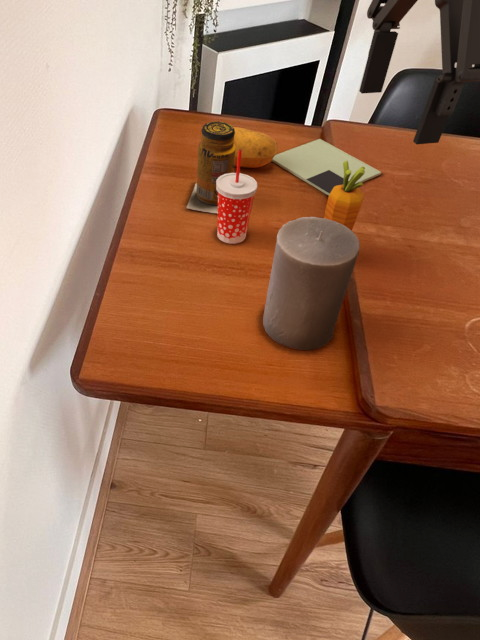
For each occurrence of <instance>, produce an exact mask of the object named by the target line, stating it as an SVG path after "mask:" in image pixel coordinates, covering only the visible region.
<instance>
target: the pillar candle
mask: <svg viewBox="0 0 480 640" xmlns="http://www.w3.org/2000/svg"><path fill="white" fill-rule="evenodd" d="M360 245H361V243H360V239H359V238H358V236H357V235H356V233H355V232H354V231H353V230H352V231H351V230H350V229H349V228H347V227H346V226H344V225H342V224H340V223H337V222H335V221H332V220H329V219H324V217H316V216H303V217H297V218H296V219H294V220H289V221H288V222H286V223H284V224H283V225H282V226H281V227H280V228H279V229H278V232H277V235H276V242H275V247H274V254H273V257H272V265H271V270H270V276H269V281H268V286H267V292H266V300H265V305H264V312H263V316H262V324H263V325H262V326H263V328H264V330H265V332H266V334H267V335H268V336H269V338H271V339H272V340H273V341H274V342H275V343H277V344H279V345H281V346H283V347H286V348H290V349H294V350H298V351H312V350H317V349H320V348H322V347H323V346H325V345H326V344H328V343H329V342H330V341H331V340H332V338H333V337H334V331H335V328H336V324H337V323H338V320H339V316H340V312H341V309H342V305H343V302H344V300H345V297H346V294H347V291H348V287H349V285H350V281H351V278H352V275H353V272H354V269H355V267H356V263H357V259H358V256H359V253H360V248H361V247H360Z"/></svg>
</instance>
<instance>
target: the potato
mask: <svg viewBox="0 0 480 640" xmlns="http://www.w3.org/2000/svg"><path fill="white" fill-rule="evenodd" d="M233 128H234V129H235V135H234V139H235V140H234V144H235V147H236V151H235V160H234V167H236V168H237V160H238V150H239V149H241V150H242V154H241V163H240V168H245V169H246V168H248V169H257V168H261V167H263V166H266V165H267V164H270V163H271V162H272V159H273V158H274V156H275V155H277V152H278V143H277V142H276V140H275V139H274V138H273V137H271V136H270V135H268V134H267V133H264V132H260V131H255V130H252V129H248V128H244V127H238V126H237V127H236V126H235V127H234V126H233Z"/></svg>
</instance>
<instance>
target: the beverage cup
mask: <svg viewBox="0 0 480 640" xmlns="http://www.w3.org/2000/svg"><path fill="white" fill-rule="evenodd" d="M241 154H242V150H241V149H239V150H238V160H237V167H236V170H235V171H236V172H233V173H228V174H224V175H222V176H220V177H219V178H218V179H217V180H216V190H217V191H218V213H217V218H216V219H217V226H216V227H217V228H216V230H217V231H216V233H217V234H216V237H217V238H218V239H219V240H220V241H221V242H222V243H226V244H231V245H232V244H234V245H235V244H240V243H242V242H244V240H245V239H246V237H247V232H248V227H249V223H250V217H251V212H252V207H253V202H254V197H255V194H256V193H257V189H258V182H257V180H255V178H254V177H252V176H250V175H248V174H245V173H241V172H240V171H241V167H240V163H241Z"/></svg>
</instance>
